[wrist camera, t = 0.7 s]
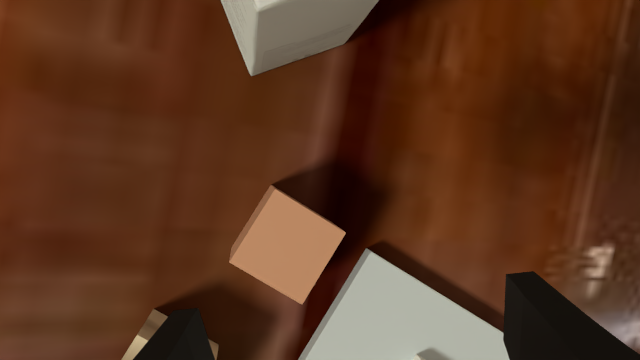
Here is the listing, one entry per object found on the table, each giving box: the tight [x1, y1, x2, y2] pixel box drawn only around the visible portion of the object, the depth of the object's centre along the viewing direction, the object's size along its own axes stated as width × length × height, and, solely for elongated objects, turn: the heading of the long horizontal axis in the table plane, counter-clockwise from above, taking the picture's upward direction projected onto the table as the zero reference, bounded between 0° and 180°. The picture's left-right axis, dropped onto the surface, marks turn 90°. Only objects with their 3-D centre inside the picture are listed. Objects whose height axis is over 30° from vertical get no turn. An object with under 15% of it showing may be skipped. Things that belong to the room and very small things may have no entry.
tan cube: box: [229, 185, 346, 304], centre depth 28 cm, size 4×4×4 cm
